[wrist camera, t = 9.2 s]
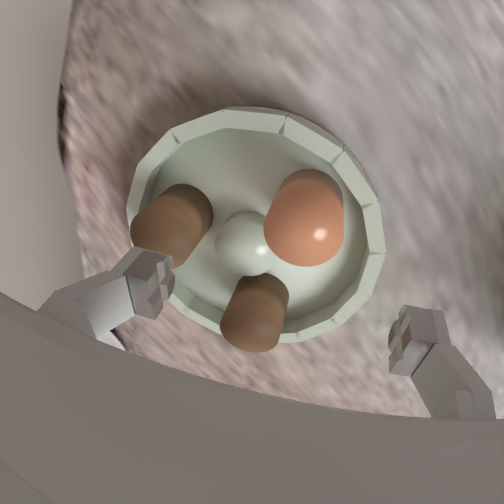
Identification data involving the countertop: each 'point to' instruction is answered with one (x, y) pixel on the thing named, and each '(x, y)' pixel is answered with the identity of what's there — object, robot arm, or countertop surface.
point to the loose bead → (306, 219)
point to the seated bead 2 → (255, 313)
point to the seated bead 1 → (173, 222)
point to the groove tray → (263, 214)
